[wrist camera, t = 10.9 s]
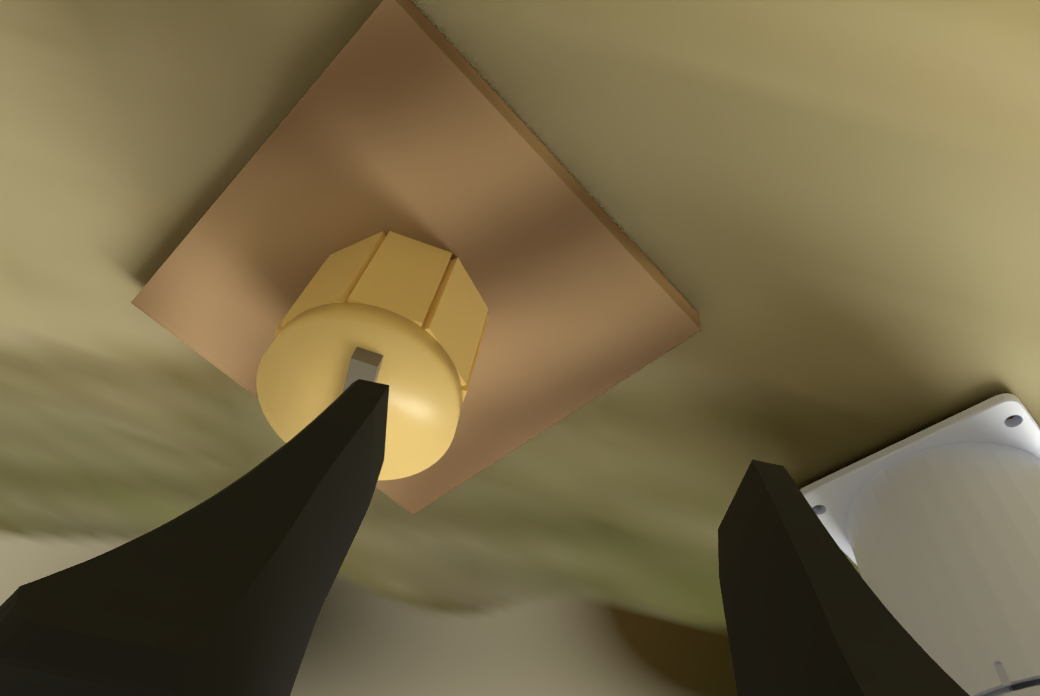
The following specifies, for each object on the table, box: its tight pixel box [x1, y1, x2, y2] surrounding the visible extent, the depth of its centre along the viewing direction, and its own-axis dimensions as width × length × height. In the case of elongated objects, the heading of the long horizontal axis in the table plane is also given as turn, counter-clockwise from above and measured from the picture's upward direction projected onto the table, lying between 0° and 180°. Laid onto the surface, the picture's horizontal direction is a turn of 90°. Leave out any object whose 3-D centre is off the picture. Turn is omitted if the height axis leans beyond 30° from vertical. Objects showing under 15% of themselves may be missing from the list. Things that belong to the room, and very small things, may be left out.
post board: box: [131, 0, 701, 514], centre depth 22 cm, size 13×14×4 cm
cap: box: [256, 231, 489, 480], centre depth 21 cm, size 6×6×5 cm
